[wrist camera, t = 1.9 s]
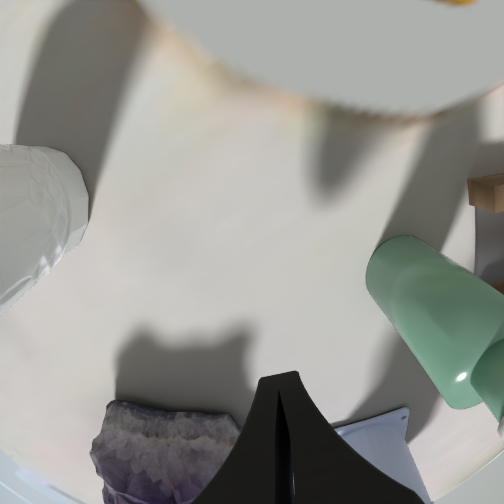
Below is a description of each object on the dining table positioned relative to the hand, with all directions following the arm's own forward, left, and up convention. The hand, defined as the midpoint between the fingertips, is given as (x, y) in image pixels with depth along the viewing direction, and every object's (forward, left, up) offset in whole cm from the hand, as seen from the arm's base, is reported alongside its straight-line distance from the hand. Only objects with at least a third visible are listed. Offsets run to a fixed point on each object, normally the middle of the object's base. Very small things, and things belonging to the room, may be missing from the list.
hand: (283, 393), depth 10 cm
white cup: (+9, +11, -7) cm, 16 cm away
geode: (-14, +12, -7) cm, 20 cm away
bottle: (0, -8, -7) cm, 10 cm away
